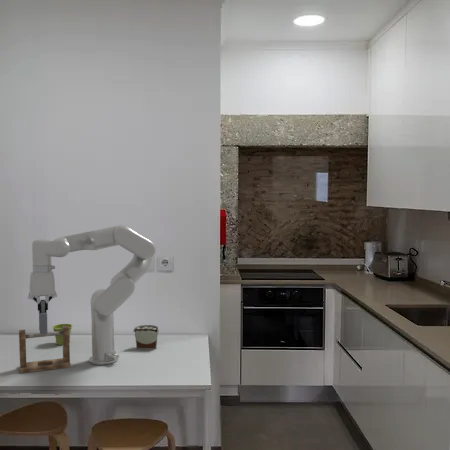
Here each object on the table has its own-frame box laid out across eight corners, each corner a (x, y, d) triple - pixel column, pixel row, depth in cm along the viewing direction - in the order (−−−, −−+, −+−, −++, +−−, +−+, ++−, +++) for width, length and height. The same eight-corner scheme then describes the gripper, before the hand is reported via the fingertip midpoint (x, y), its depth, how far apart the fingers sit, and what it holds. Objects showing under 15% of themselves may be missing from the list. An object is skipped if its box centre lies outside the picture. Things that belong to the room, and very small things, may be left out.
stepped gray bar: (47, 333, 223) (46, 302, 222) (39, 334, 222) (39, 302, 221) (46, 329, 230) (46, 298, 229) (39, 329, 229) (38, 298, 228)
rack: (68, 360, 235) (67, 324, 234) (70, 367, 227) (69, 329, 225) (20, 366, 228) (18, 328, 226) (20, 373, 219) (19, 334, 218)
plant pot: (67, 346, 255) (66, 329, 255) (49, 345, 257) (48, 328, 257) (76, 341, 265) (76, 324, 264) (59, 340, 267) (58, 323, 266)
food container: (161, 345, 258) (161, 324, 257) (159, 349, 251) (158, 328, 251) (137, 344, 259) (136, 324, 258) (133, 348, 253) (133, 327, 252)
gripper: (60, 266, 230) (61, 308, 232) (22, 268, 225) (23, 311, 226) (62, 269, 223) (62, 312, 225) (22, 271, 218) (23, 315, 219)
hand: (42, 311), depth 225 cm, fingers closed on stepped gray bar, 1 cm apart
